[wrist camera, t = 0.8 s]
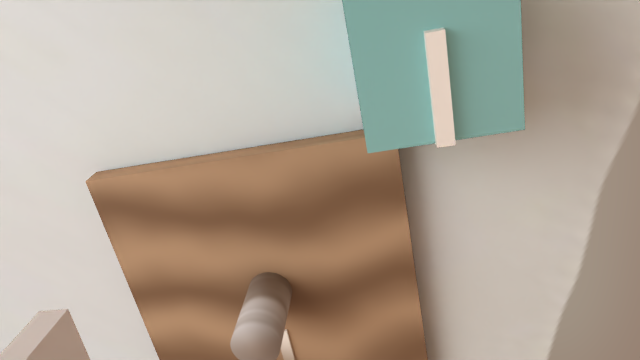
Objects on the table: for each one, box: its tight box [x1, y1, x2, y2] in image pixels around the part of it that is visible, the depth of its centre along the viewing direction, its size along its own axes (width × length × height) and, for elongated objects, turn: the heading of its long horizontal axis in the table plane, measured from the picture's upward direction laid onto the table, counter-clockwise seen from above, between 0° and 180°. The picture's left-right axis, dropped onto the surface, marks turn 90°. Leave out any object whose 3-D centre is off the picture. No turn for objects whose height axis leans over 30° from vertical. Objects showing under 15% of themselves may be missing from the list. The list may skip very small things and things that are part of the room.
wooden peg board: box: [86, 130, 428, 360], centre depth 33 cm, size 20×20×7 cm
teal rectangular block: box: [342, 0, 525, 153], centre depth 25 cm, size 7×7×9 cm
